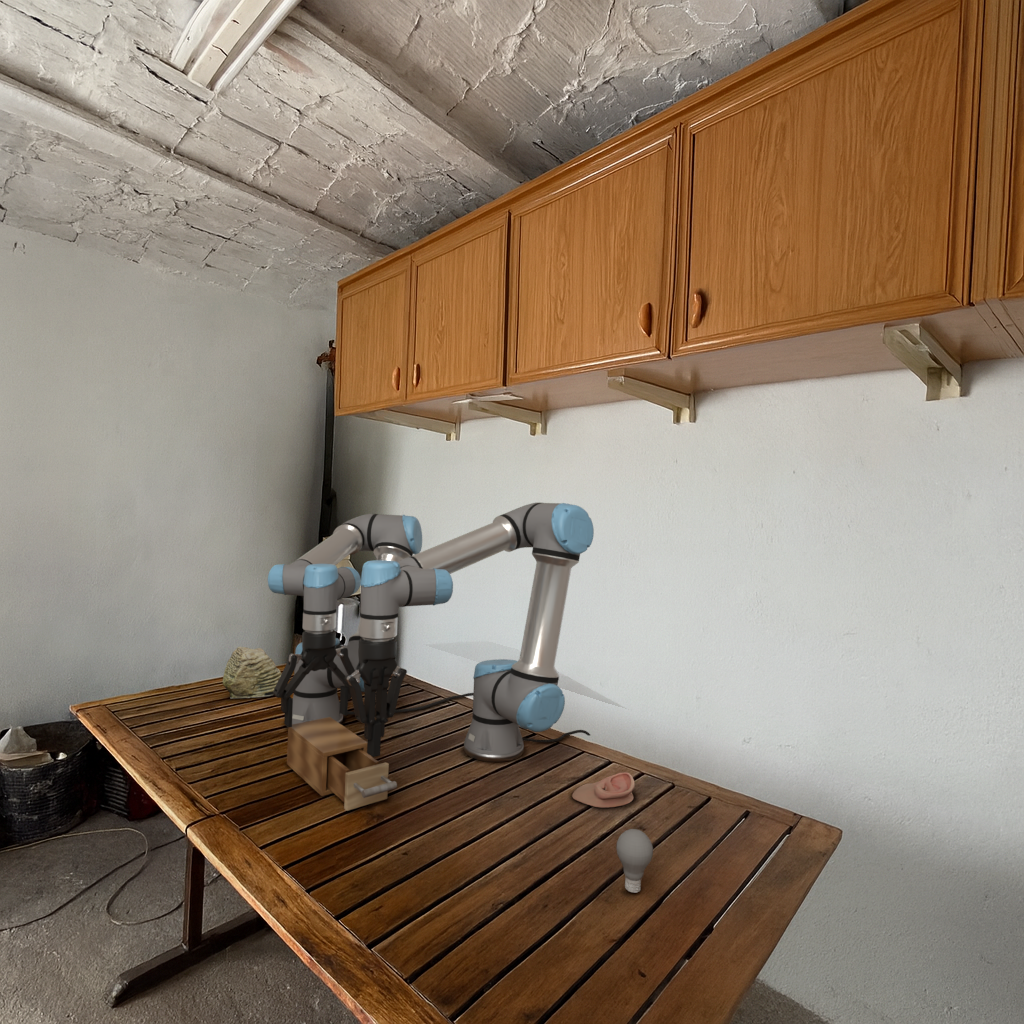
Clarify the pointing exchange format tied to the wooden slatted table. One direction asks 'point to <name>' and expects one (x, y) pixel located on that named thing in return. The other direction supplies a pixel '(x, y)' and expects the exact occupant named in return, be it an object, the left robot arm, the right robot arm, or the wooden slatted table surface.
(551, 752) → the wooden slatted table surface
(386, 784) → the drawer
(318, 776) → the cabinet
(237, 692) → the fossil
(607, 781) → the anatomical model
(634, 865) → the light bulb
